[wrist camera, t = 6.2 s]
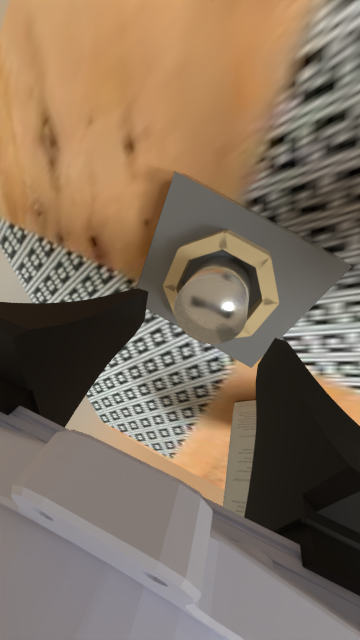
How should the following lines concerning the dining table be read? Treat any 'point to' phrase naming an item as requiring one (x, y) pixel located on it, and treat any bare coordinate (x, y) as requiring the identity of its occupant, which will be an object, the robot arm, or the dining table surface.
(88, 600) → the robot arm
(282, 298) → the grey square plate
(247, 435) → the small box
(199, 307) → the shiny metal cylinder
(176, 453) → the dining table surface
